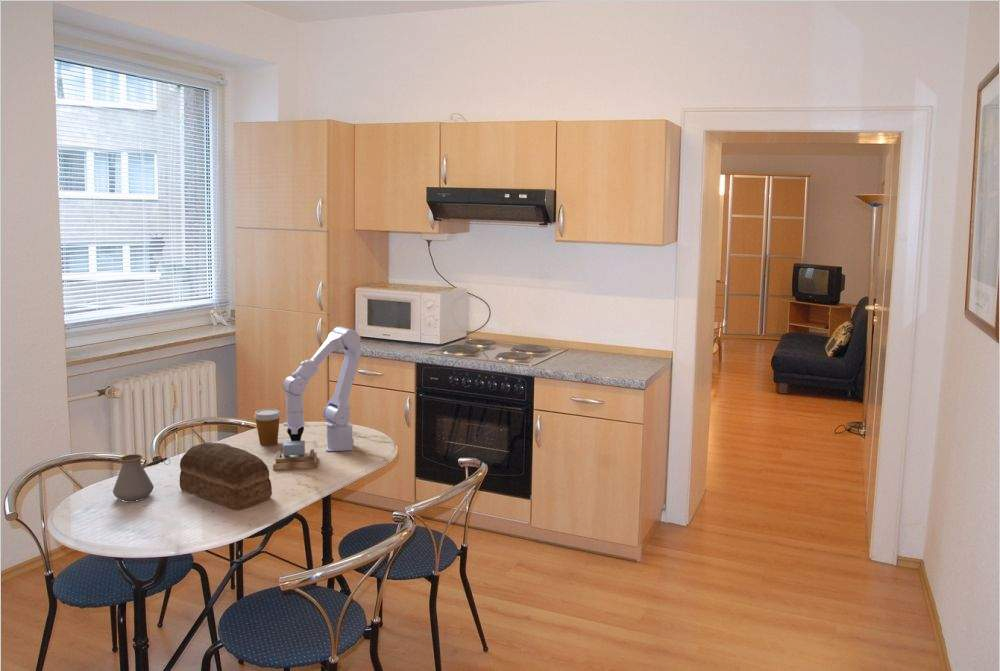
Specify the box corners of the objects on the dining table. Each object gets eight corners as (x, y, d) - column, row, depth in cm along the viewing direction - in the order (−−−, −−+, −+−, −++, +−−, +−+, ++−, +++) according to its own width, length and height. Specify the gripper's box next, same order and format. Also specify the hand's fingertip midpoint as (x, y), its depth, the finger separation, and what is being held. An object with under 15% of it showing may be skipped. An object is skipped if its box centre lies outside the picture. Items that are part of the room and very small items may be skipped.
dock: (316, 457, 300) (316, 447, 300) (315, 467, 290) (315, 457, 289) (275, 459, 298) (275, 449, 297) (273, 470, 287) (272, 460, 286)
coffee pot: (105, 500, 260) (101, 453, 257) (135, 488, 270) (132, 443, 267) (156, 512, 250) (152, 463, 248) (186, 499, 261) (182, 452, 258)
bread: (214, 477, 281) (211, 430, 278) (277, 499, 262) (275, 449, 259) (174, 490, 269) (171, 441, 266) (237, 513, 250) (234, 462, 247)
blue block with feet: (305, 454, 296) (304, 440, 295) (304, 459, 292) (304, 444, 291) (284, 456, 295) (283, 441, 294) (283, 460, 291) (282, 445, 290)
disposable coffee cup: (278, 447, 311) (276, 415, 309) (252, 447, 311) (250, 415, 309) (285, 439, 321) (283, 408, 318) (259, 439, 321) (258, 408, 319)
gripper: (284, 405, 304) (286, 442, 307) (281, 416, 290) (283, 455, 293) (304, 405, 305) (306, 441, 308) (302, 415, 291) (304, 454, 294)
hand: (296, 448), depth 300 cm, fingers closed
